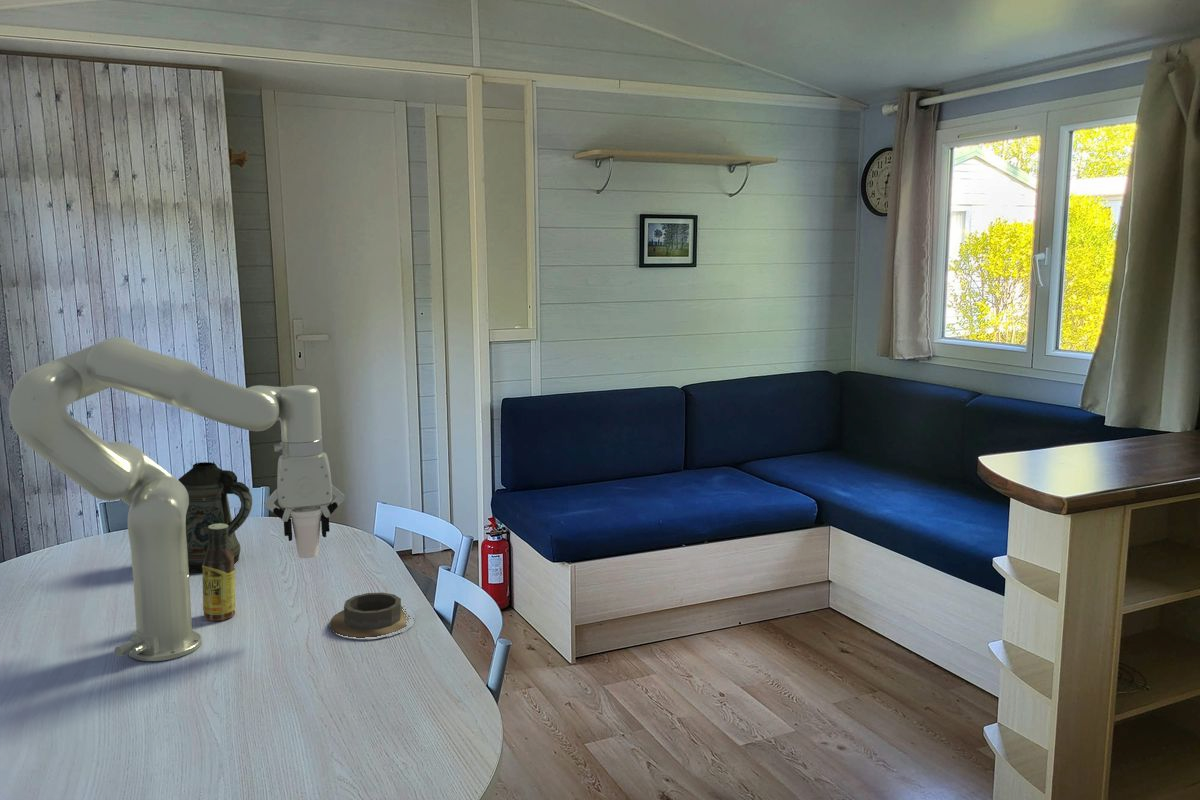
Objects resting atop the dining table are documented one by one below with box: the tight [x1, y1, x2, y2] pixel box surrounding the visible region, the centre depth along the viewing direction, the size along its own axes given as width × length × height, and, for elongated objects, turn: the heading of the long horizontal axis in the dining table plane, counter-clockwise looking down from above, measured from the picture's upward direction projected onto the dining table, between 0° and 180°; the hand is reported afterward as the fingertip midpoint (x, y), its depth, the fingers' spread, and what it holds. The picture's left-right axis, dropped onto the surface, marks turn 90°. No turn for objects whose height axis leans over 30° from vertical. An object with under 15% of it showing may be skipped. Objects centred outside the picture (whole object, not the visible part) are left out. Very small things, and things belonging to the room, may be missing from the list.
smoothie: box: [290, 506, 322, 559], centre depth 177 cm, size 6×6×14 cm
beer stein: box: [177, 461, 253, 574], centre depth 219 cm, size 16×19×25 cm
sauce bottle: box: [201, 523, 236, 622], centre depth 185 cm, size 6×6×20 cm
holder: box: [329, 591, 414, 638], centre depth 184 cm, size 17×17×4 cm
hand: (307, 536), depth 177 cm, fingers closed on smoothie, 5 cm apart
